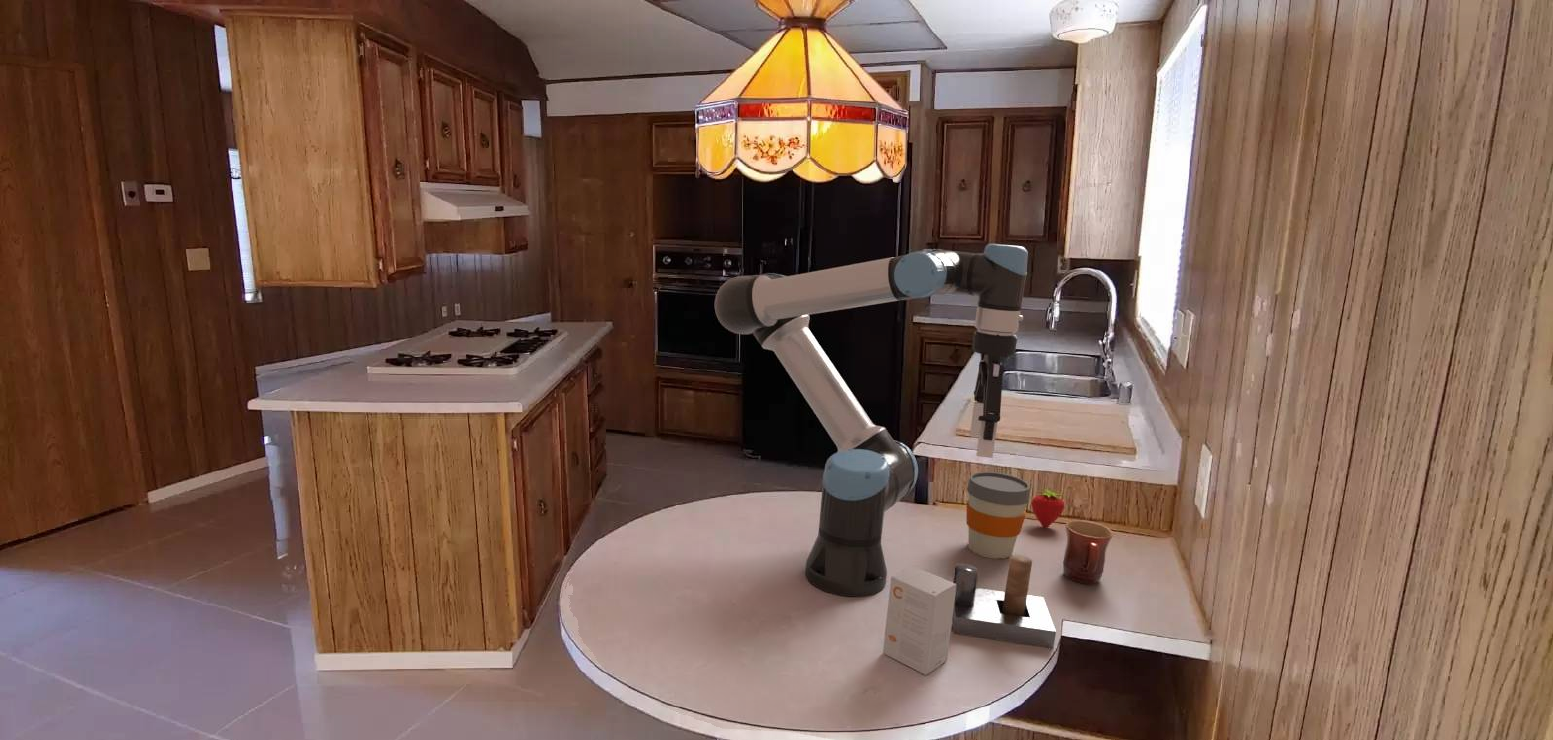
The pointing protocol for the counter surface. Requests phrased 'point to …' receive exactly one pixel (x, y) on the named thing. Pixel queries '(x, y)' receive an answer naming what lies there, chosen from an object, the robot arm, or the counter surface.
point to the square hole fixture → (997, 613)
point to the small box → (919, 619)
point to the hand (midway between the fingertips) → (980, 446)
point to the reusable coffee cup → (995, 512)
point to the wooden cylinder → (1017, 585)
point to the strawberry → (1047, 507)
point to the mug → (1085, 551)
